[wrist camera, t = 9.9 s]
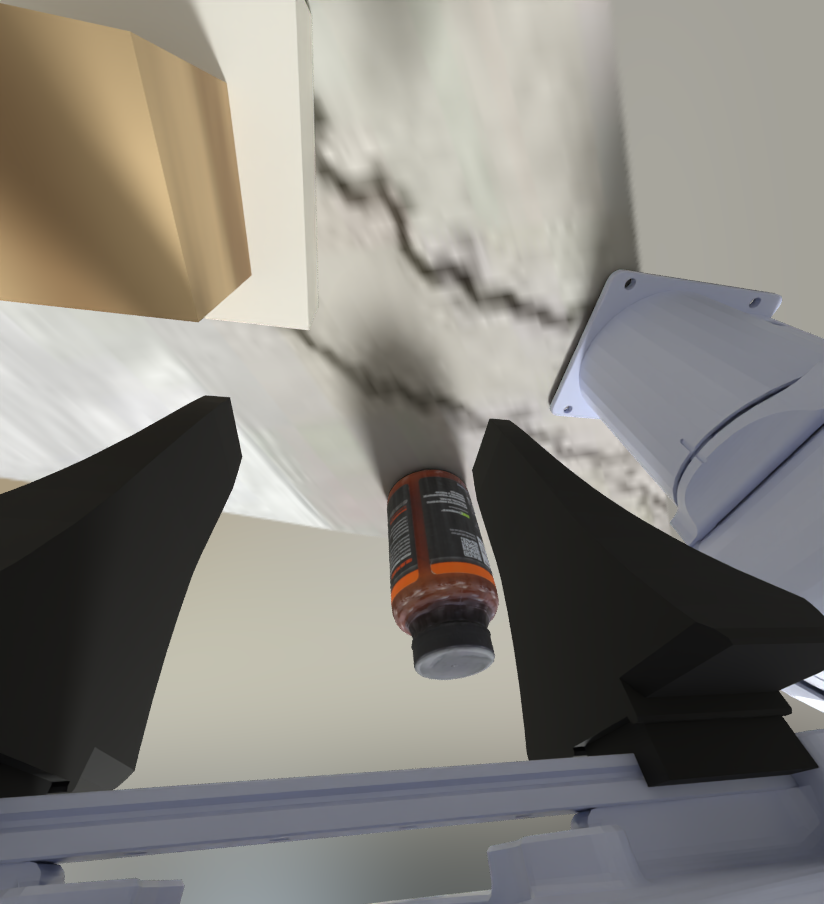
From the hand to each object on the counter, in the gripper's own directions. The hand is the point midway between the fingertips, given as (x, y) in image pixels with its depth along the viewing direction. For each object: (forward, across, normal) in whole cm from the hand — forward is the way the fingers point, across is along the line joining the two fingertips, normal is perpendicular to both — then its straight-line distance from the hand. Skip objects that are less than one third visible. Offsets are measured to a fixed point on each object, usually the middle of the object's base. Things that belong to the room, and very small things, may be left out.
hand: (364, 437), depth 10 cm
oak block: (+6, +7, -5) cm, 11 cm away
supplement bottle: (+10, -5, +12) cm, 16 cm away
